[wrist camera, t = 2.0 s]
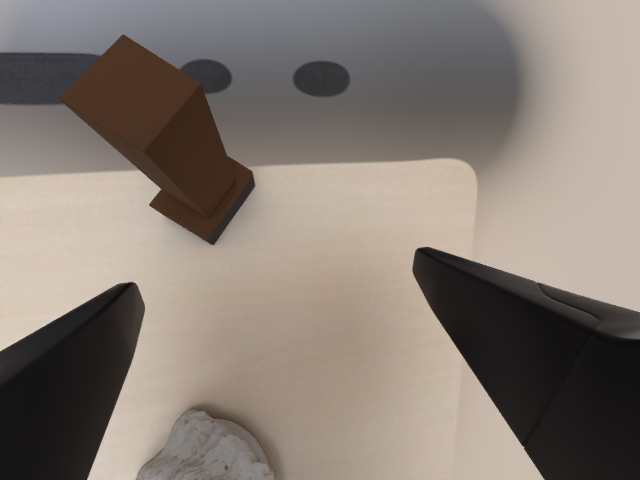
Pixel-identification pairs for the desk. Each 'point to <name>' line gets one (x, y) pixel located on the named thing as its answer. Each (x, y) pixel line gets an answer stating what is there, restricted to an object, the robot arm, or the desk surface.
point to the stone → (208, 452)
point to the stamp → (163, 135)
